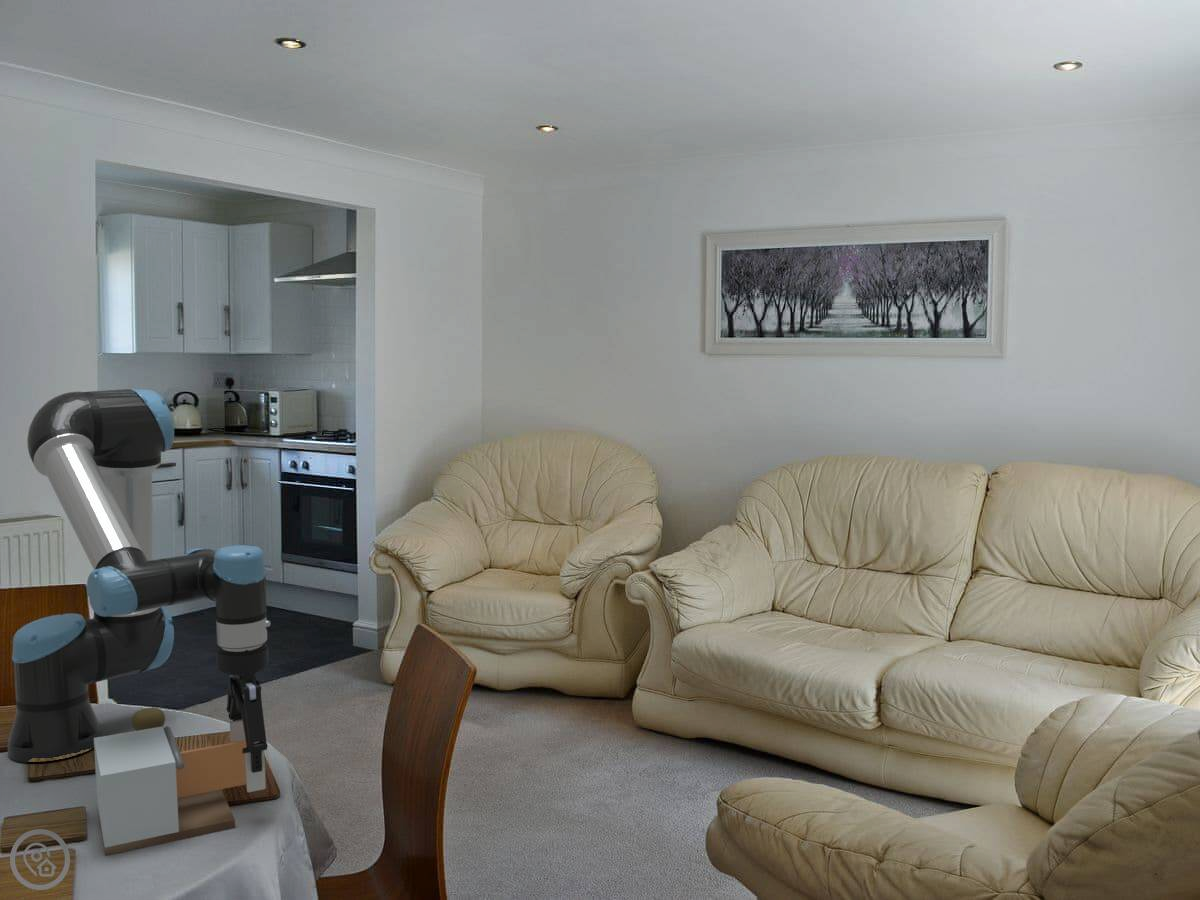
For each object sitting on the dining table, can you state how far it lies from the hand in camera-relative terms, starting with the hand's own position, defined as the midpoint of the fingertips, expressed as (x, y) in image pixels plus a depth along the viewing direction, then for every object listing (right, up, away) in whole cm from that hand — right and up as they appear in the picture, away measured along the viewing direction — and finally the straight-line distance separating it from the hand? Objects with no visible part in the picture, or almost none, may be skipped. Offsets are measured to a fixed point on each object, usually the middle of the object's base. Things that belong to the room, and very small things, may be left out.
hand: (247, 773), depth 168 cm
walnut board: (-11, -5, -5) cm, 13 cm away
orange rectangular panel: (-5, -2, -3) cm, 6 cm away
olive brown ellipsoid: (-21, -4, +12) cm, 24 cm away
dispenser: (-14, -4, -7) cm, 16 cm away
